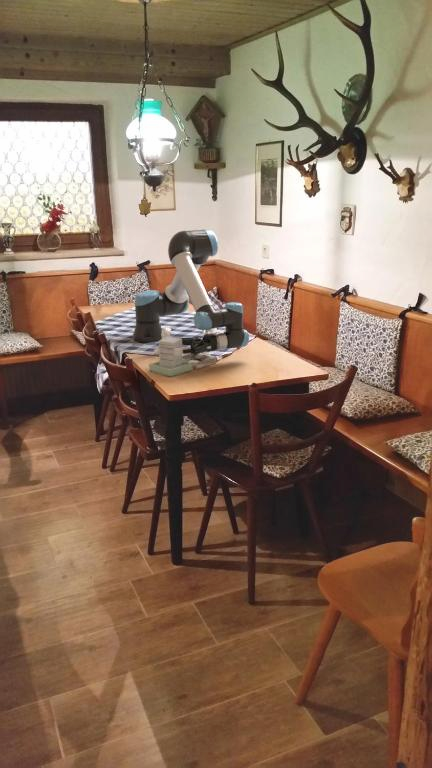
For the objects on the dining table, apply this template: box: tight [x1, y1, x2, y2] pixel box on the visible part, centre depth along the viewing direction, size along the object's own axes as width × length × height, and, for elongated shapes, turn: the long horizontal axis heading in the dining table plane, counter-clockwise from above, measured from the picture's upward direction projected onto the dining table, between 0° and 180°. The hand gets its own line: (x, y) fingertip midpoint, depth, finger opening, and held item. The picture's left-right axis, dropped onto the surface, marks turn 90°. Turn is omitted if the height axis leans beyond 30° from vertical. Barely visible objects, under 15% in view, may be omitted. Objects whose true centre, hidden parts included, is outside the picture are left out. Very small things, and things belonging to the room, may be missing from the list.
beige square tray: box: [183, 353, 217, 370], centre depth 257 cm, size 13×13×2 cm
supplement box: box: [158, 336, 183, 369], centre depth 245 cm, size 7×7×13 cm
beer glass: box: [201, 328, 218, 338], centre depth 277 cm, size 7×7×15 cm
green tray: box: [148, 360, 194, 378], centre depth 247 cm, size 13×13×3 cm
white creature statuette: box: [153, 326, 172, 356], centre depth 272 cm, size 10×9×12 cm
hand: (167, 348), depth 244 cm, fingers open, 13 cm apart
